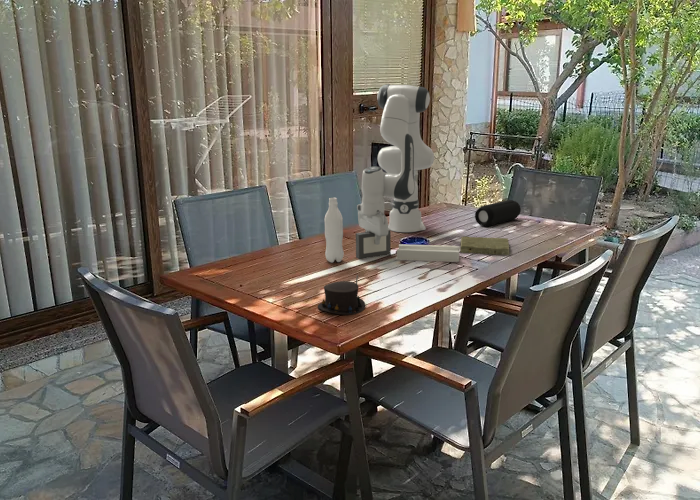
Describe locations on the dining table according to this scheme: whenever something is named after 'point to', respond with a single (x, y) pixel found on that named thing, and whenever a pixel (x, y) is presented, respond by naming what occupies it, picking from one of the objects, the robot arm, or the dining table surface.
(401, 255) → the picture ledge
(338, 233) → the water bottle
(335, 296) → the top hat
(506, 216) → the portable speaker
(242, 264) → the dining table surface
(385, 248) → the picture frame
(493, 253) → the decorative tile
